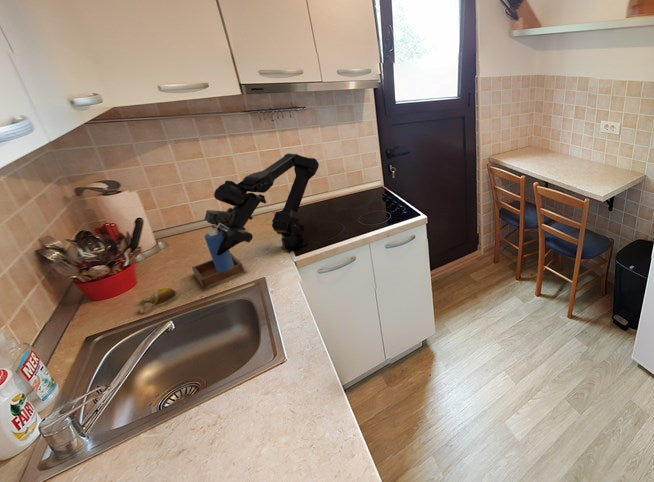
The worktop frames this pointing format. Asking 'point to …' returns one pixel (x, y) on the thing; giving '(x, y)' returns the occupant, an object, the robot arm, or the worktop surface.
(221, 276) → the tray
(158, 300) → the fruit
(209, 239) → the bottle
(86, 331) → the worktop surface
